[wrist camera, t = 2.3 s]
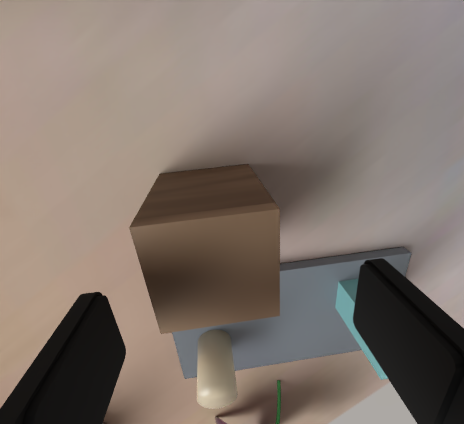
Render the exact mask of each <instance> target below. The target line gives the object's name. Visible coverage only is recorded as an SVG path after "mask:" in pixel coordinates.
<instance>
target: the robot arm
mask: <svg viewBox="0 0 464 424" xmlns="http://www.w3.org/2000/svg"><path fill="white" fill-rule="evenodd" d="M353 323H354V326H355V328H356V330H357V331H358V333H359V334H360V336H361V337H362V339H363V340H364V342H365V344H366V345H367V347H368V348H369V350H370V351H371V353H372V354H373V356H374V357H375V359H376V361H377V362H378V364H379V365H380V367H381V368H382V370H383V371H384V373H385V374H386V376H387V377H388V379H389V381H390V382H391V384H392V385H393V387H394V388H395V390H396V391H397V393H398V394H399V396H400V397H401V399H402V400H403V402H404V404H405V405H406V407H407V408H408V410H409V411H410V413H411V414H412V416H413V417H414V419H415V420H416V422H417V424H464V328H462V327H461V326H460V325H459V324H458V323H457V322H456V321H454V320H453V319H452V318H451V317H450V316H449V315H448V314H446V313H445V312H444V311H443V310H442V309H441V308H440V307H439V306H437V305H436V304H435V303H434V302H433V301H432V300H431V299H429V298H428V297H427V296H426V295H425V294H424V293H423V292H421V291H420V290H419V289H418V288H417V287H416V286H415V285H414V284H412V283H411V282H410V281H409V280H408V279H407V278H406V277H404V276H403V275H402V274H401V273H400V272H399V271H398V270H397V269H395V268H394V267H393V266H392V265H391V264H390V263H389V262H387V261H386V260H385V259H383V258H379V259H371V260H366V261H365V262H364V264H363V265H361V266H360V271H359V278H358V285H357V292H356V299H355V306H354V313H353ZM125 355H126V348H125V345H124V342H123V339H122V337H121V334H120V331H119V329H118V326H117V323H116V320H115V318H114V315H113V312H112V310H111V307H110V304H109V301H108V299H107V297H106V296H102V294H101V293H100V292H94V293H86V294H81V295H80V296H79V297H78V299H77V300H76V301H75V303H74V304H73V306H72V307H71V309H70V310H69V311H68V313H67V314H66V316H65V317H64V319H63V320H62V321H61V323H60V324H59V326H58V327H57V329H56V330H55V331H54V333H53V334H52V336H51V337H50V339H49V340H48V341H47V343H46V344H45V346H44V347H43V349H42V350H41V351H40V353H39V354H38V356H37V357H36V359H35V360H34V362H33V363H32V364H31V366H30V367H29V369H28V370H27V372H26V373H25V374H24V376H23V377H22V379H21V380H20V382H19V383H18V384H17V386H16V387H15V389H14V390H13V392H12V393H11V394H10V396H9V397H8V399H7V400H6V402H5V403H4V404H3V406H2V407H1V409H0V424H102V423H103V420H104V417H105V414H106V411H107V408H108V405H109V403H110V400H111V397H112V394H113V391H114V388H115V385H116V382H117V379H118V377H119V374H120V371H121V368H122V365H123V362H124V359H125Z"/></svg>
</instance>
